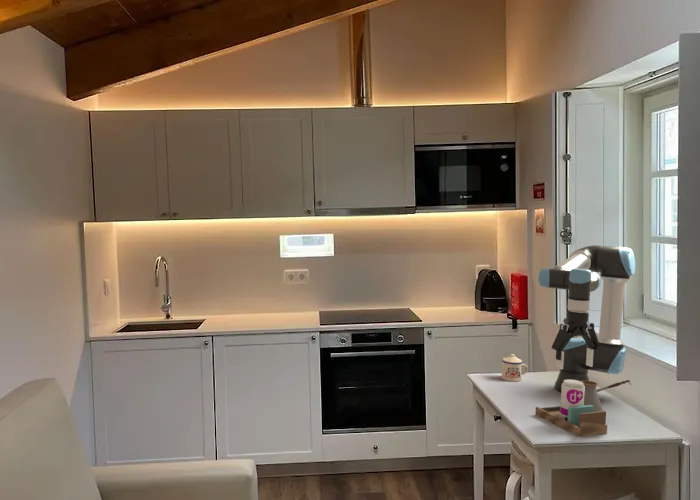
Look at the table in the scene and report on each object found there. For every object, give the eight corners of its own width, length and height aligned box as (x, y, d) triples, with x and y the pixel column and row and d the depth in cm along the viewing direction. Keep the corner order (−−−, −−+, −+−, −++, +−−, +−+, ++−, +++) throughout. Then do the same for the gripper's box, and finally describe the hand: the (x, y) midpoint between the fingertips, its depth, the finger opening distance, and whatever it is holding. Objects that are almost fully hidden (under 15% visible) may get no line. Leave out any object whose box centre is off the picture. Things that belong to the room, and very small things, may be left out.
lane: (535, 414, 251) (536, 394, 250) (562, 411, 256) (563, 392, 255) (578, 436, 229) (579, 414, 228) (606, 433, 234) (608, 411, 233)
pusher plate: (567, 425, 236) (568, 407, 235) (589, 423, 240) (591, 404, 239) (569, 427, 235) (571, 408, 234) (592, 424, 238) (593, 406, 238)
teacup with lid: (503, 381, 296) (505, 356, 295) (498, 376, 305) (500, 351, 305) (529, 382, 297) (531, 357, 296) (524, 376, 306) (525, 352, 305)
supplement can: (584, 426, 237) (586, 386, 236) (560, 423, 239) (563, 383, 237) (580, 418, 245) (583, 380, 244) (558, 416, 247) (560, 378, 245)
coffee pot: (575, 418, 248) (577, 380, 247) (568, 409, 260) (570, 372, 258) (633, 422, 246) (635, 384, 245) (623, 413, 257) (626, 376, 256)
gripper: (597, 307, 246) (594, 362, 248) (543, 310, 237) (540, 366, 239) (612, 311, 240) (608, 367, 241) (557, 314, 230) (553, 372, 232)
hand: (574, 367), depth 240 cm, fingers open, 13 cm apart
